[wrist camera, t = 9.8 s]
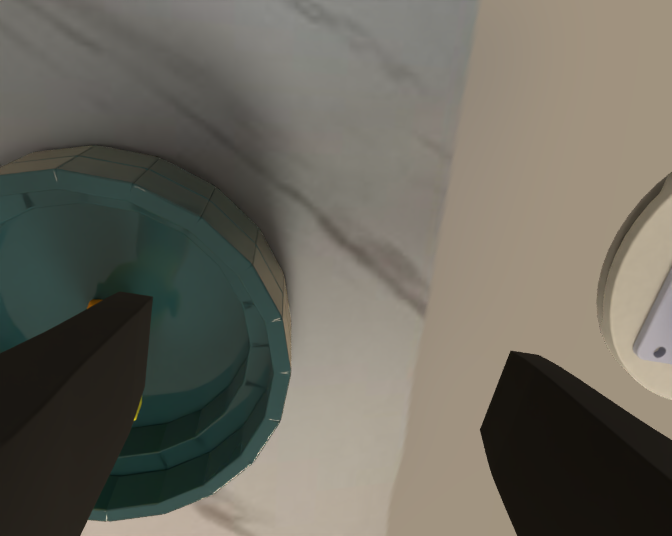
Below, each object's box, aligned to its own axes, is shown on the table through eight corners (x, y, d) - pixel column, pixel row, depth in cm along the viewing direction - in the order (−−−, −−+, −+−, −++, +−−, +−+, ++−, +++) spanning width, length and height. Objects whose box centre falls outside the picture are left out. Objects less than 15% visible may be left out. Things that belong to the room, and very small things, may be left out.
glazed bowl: (319, 183, 20) (325, 218, 16) (261, 462, 25) (255, 536, 21) (-75, 107, 18) (-169, 127, 14) (-53, 426, 23) (-118, 502, 19)
